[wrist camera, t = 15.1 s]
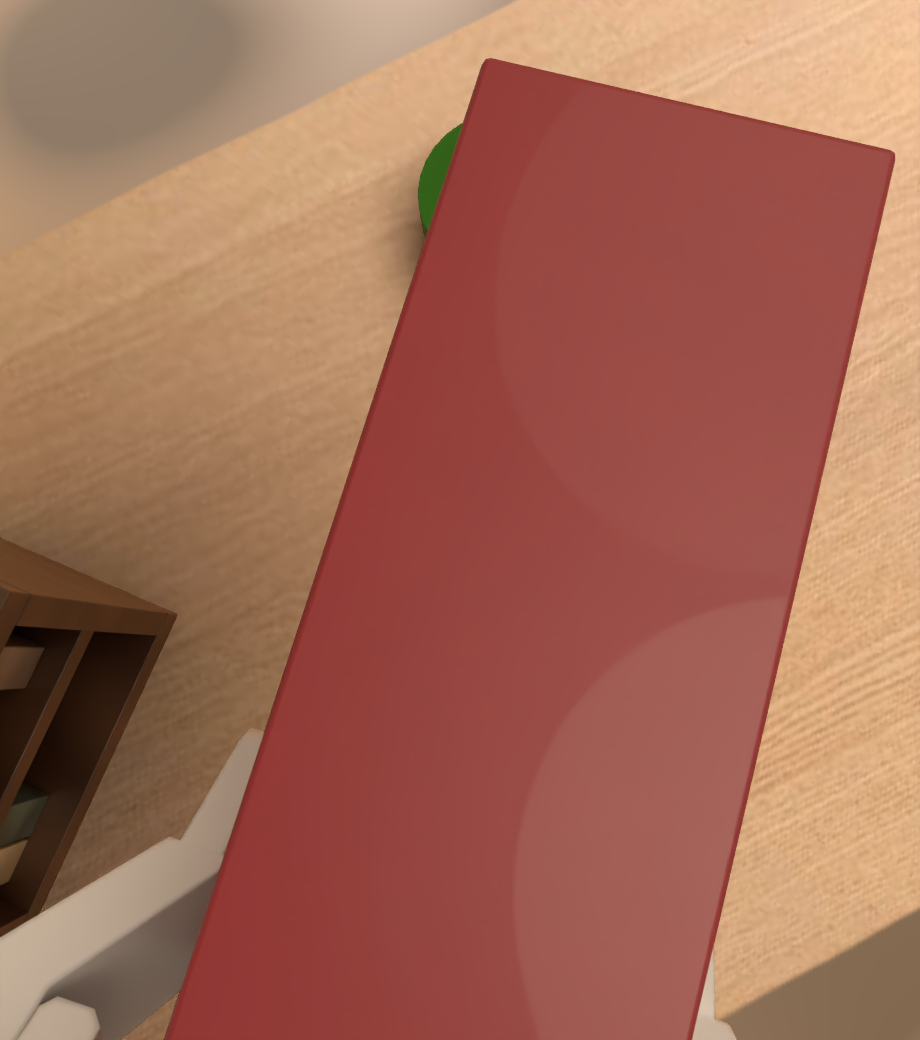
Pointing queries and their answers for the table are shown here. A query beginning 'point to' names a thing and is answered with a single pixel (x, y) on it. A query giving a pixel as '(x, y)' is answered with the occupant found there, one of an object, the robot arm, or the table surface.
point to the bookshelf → (60, 709)
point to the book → (550, 586)
